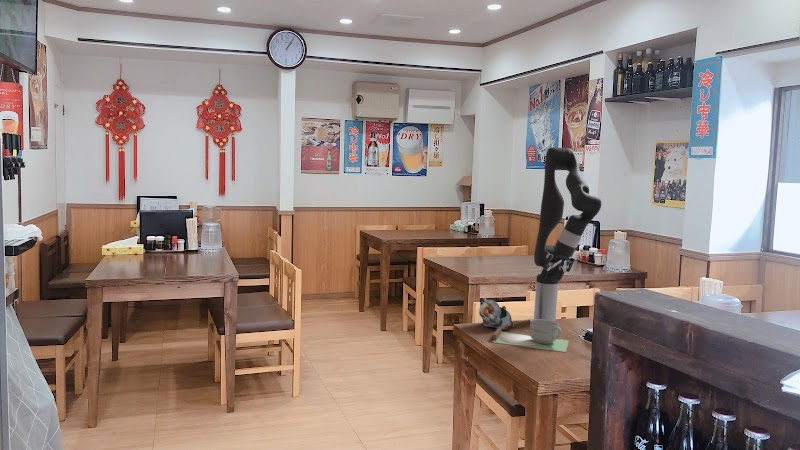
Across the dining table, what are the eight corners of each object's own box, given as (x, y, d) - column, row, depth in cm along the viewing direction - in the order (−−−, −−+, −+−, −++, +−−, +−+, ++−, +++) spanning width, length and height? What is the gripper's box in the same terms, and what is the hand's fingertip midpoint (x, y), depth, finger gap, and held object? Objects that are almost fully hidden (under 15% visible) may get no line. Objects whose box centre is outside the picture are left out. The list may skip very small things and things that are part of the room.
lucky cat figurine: (517, 331, 250) (508, 303, 245) (489, 341, 251) (479, 314, 245) (508, 312, 264) (499, 285, 259) (481, 321, 265) (472, 295, 259)
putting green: (499, 332, 248) (499, 325, 248) (568, 341, 240) (569, 334, 239) (491, 342, 233) (492, 335, 233) (565, 352, 225) (566, 345, 224)
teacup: (523, 338, 239) (524, 318, 238) (547, 337, 243) (548, 317, 242) (543, 349, 226) (545, 328, 225) (568, 347, 230) (570, 326, 229)
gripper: (573, 239, 242) (556, 275, 247) (548, 235, 234) (530, 272, 239) (586, 248, 236) (568, 285, 241) (561, 244, 228) (543, 282, 233)
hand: (549, 278), depth 240 cm, fingers open, 8 cm apart
